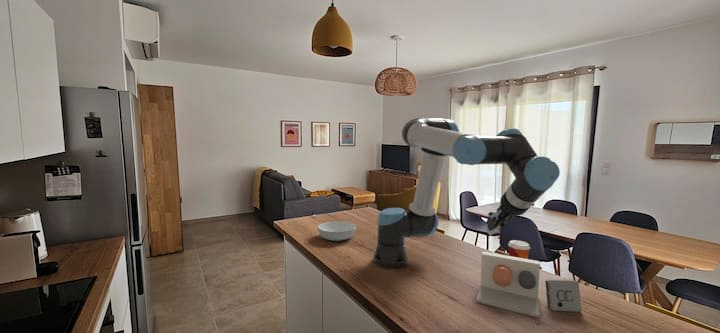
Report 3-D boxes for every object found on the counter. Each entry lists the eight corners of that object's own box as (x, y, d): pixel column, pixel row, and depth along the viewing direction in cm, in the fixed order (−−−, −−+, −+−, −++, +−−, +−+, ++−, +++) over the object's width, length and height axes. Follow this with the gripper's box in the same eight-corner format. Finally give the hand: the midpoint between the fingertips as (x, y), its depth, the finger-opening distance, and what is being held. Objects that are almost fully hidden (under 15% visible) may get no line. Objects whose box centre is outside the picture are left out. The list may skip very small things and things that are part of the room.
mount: (476, 301, 100) (478, 264, 99) (481, 284, 112) (483, 250, 111) (538, 317, 91) (541, 276, 90) (537, 297, 103) (539, 260, 102)
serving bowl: (363, 236, 167) (363, 224, 166) (341, 247, 149) (341, 234, 149) (333, 230, 178) (333, 219, 177) (309, 240, 160) (309, 227, 160)
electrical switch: (551, 311, 95) (551, 282, 95) (542, 304, 100) (542, 276, 100) (582, 312, 94) (582, 283, 94) (571, 305, 99) (571, 277, 99)
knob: (491, 284, 103) (492, 267, 102) (495, 270, 114) (495, 255, 113) (511, 288, 100) (512, 271, 99) (512, 273, 111) (513, 258, 111)
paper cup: (520, 283, 113) (522, 247, 112) (502, 275, 120) (503, 241, 119) (532, 279, 117) (534, 244, 116) (514, 271, 124) (516, 238, 122)
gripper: (508, 216, 82) (479, 247, 101) (546, 201, 84) (511, 234, 104) (491, 194, 86) (467, 228, 105) (528, 180, 88) (498, 216, 108)
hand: (489, 231), depth 104 cm, fingers closed
